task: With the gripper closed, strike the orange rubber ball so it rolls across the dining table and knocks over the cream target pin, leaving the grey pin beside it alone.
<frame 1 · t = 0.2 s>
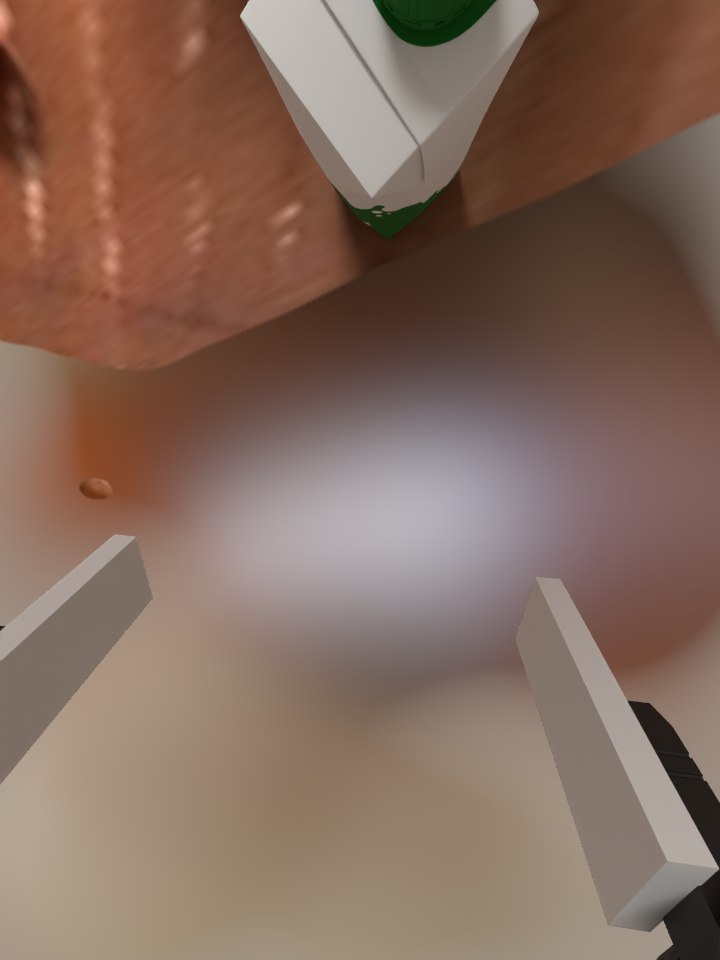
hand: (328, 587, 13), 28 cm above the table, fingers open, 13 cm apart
milk carton: (393, 166, 30), on the table
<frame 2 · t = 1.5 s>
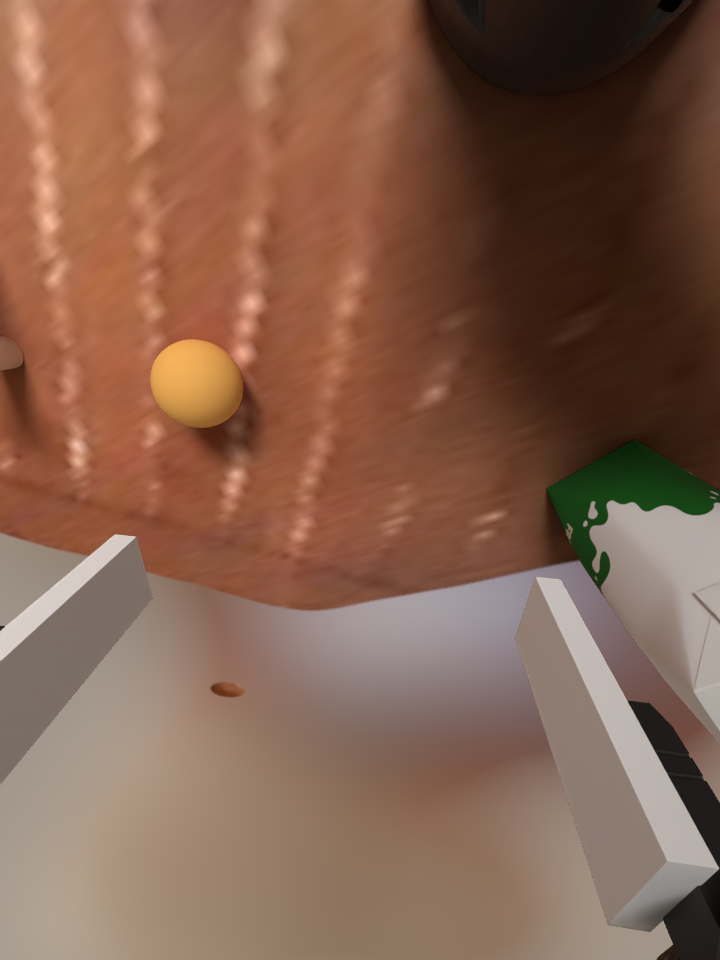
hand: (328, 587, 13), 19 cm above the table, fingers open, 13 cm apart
target pin: (8, 352, 30), on the table
ball: (199, 384, 27), on the table
milk carton: (605, 494, 31), on the table
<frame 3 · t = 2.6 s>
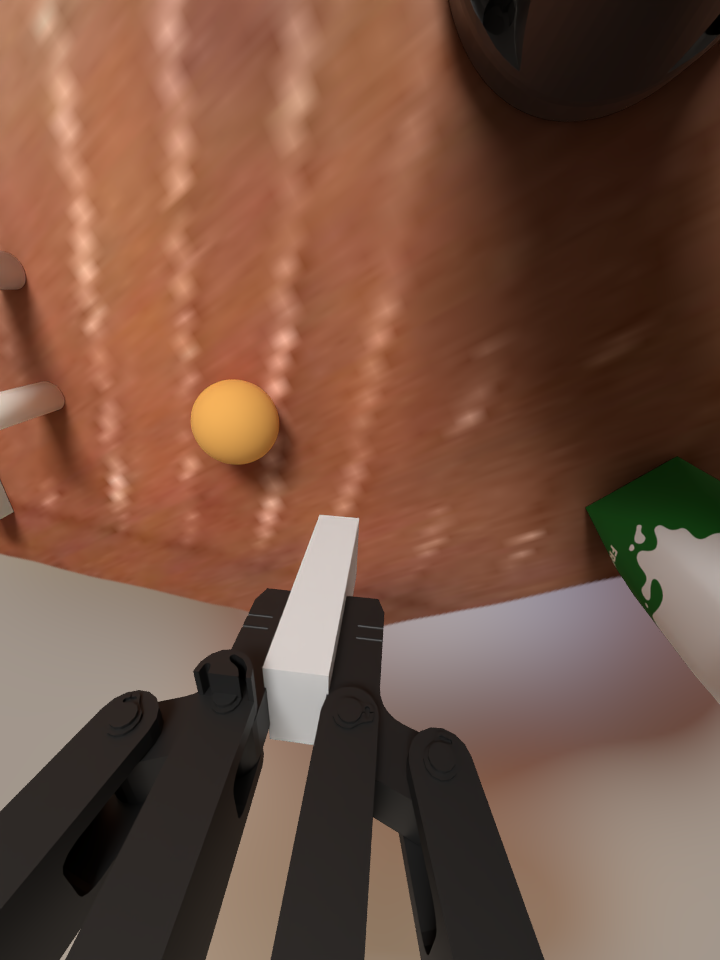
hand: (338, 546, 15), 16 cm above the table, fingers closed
target pin: (50, 395, 31), on the table
ball: (236, 422, 27), on the table
grey pin: (8, 270, 27), on the table
milk carton: (646, 511, 30), on the table
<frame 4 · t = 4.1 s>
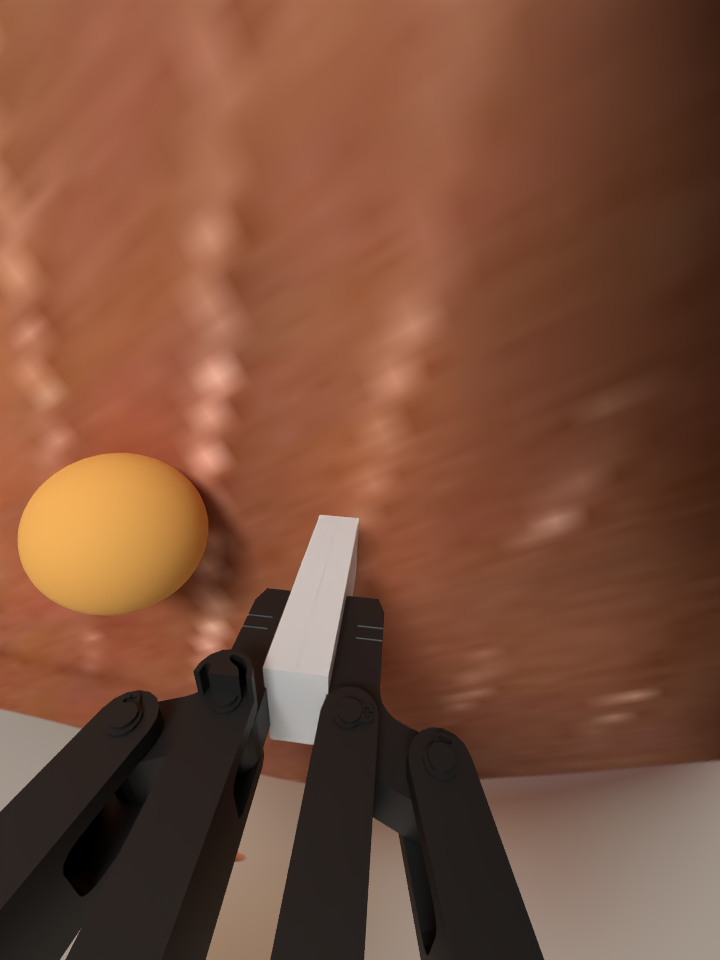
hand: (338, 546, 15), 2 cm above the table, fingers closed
ball: (123, 531, 14), on the table
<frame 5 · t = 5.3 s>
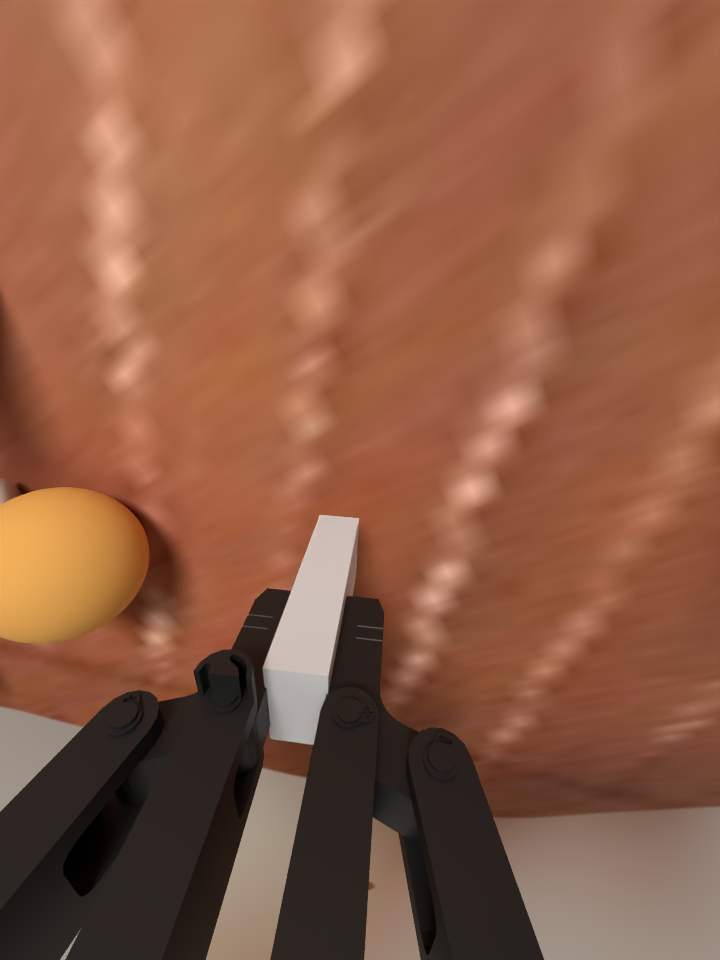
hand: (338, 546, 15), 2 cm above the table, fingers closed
target pin: (12, 504, 17), point 1 cm above the table, tilted 59°
ball: (63, 562, 15), on the table
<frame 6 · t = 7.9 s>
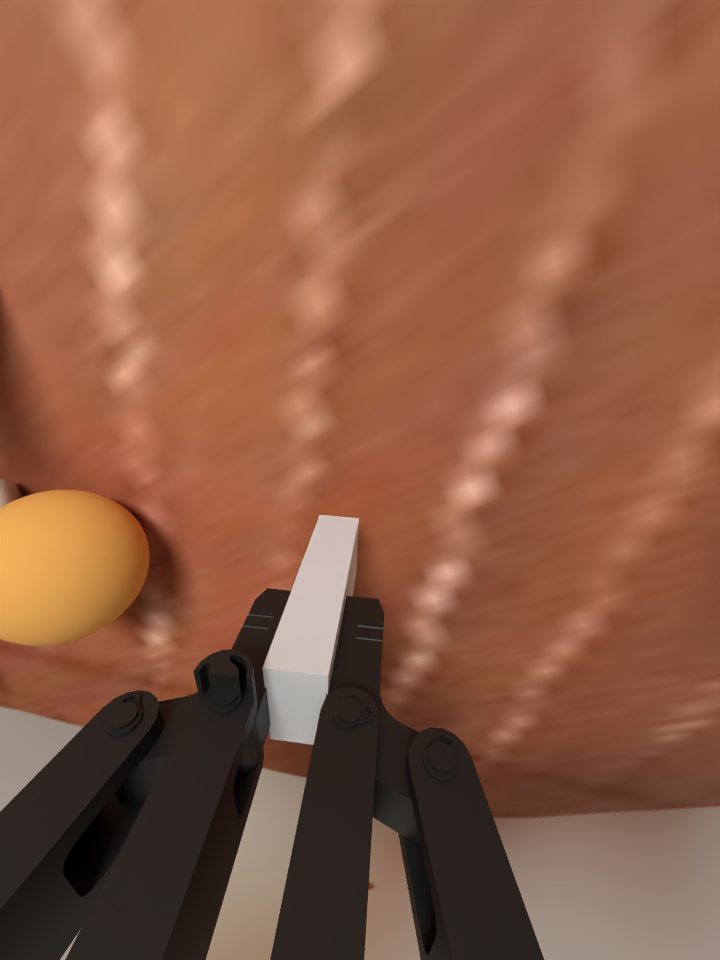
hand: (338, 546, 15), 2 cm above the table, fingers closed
target pin: (12, 505, 17), point 1 cm above the table, tilted 60°, touching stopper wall
ball: (64, 564, 15), on the table
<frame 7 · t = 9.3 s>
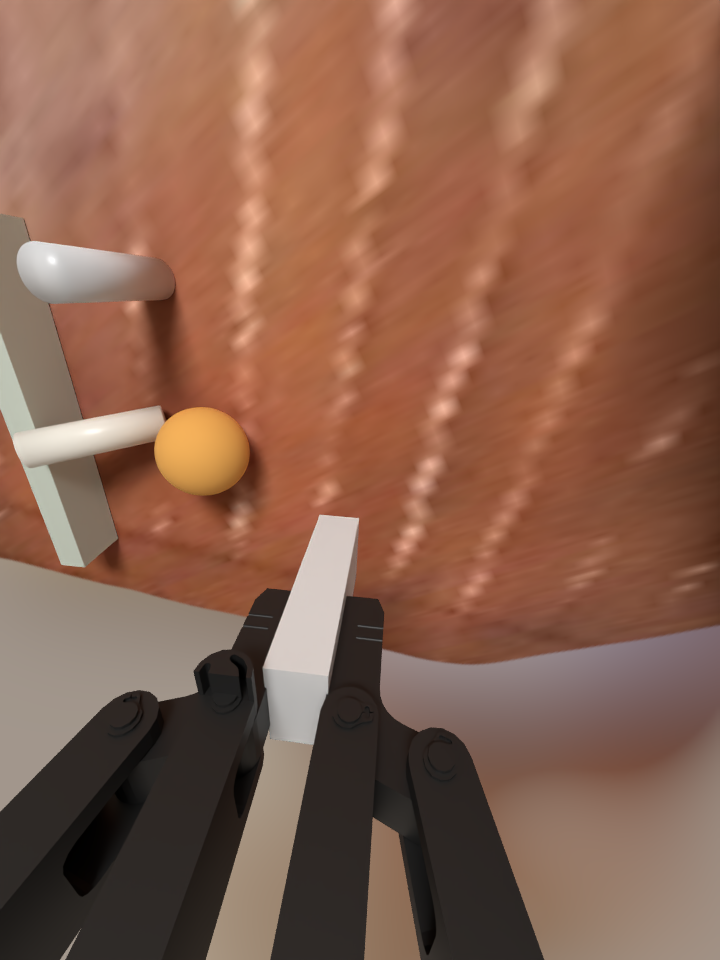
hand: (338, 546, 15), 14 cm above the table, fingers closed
target pin: (165, 421, 27), point 1 cm above the table, tilted 60°, touching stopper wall
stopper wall: (67, 407, 29), on the table
ball: (204, 451, 26), on the table
grey pin: (156, 279, 24), on the table
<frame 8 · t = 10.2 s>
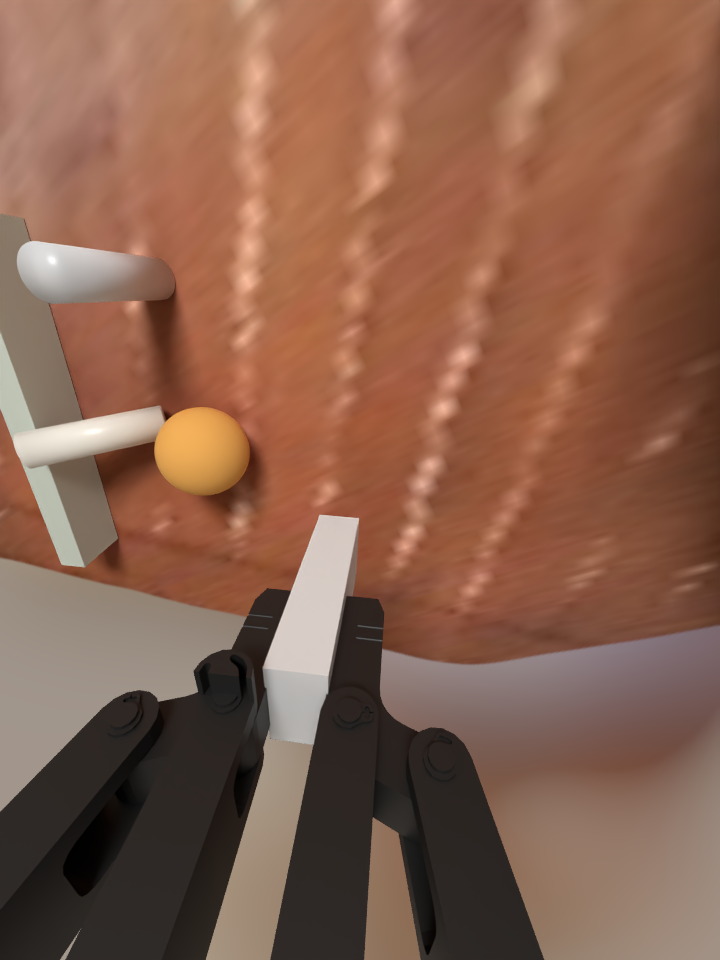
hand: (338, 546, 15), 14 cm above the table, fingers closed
target pin: (165, 421, 27), point 1 cm above the table, tilted 60°, touching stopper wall
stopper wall: (67, 407, 29), on the table
ball: (204, 451, 26), on the table
grey pin: (156, 279, 24), on the table
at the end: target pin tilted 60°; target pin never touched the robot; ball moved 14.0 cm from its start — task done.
